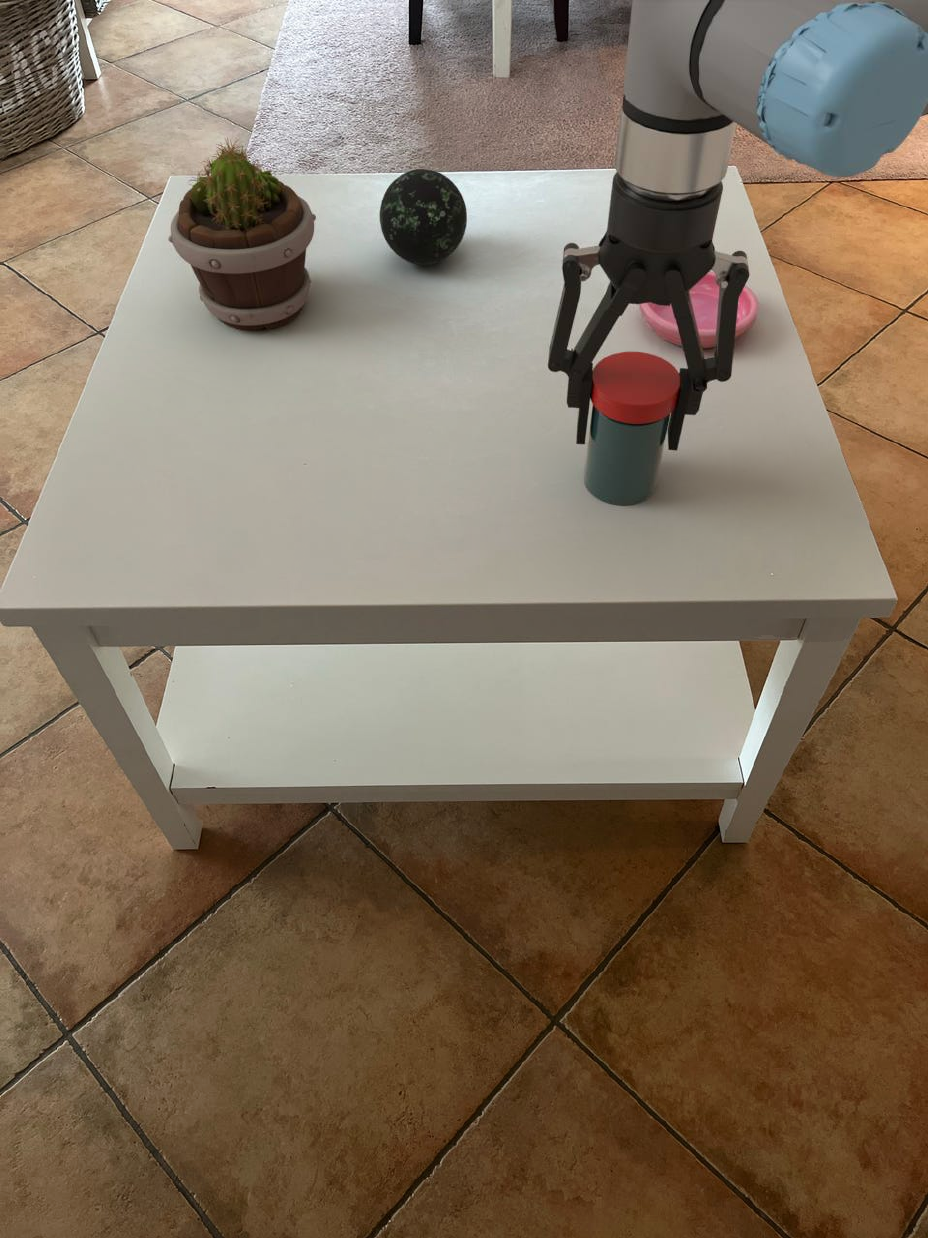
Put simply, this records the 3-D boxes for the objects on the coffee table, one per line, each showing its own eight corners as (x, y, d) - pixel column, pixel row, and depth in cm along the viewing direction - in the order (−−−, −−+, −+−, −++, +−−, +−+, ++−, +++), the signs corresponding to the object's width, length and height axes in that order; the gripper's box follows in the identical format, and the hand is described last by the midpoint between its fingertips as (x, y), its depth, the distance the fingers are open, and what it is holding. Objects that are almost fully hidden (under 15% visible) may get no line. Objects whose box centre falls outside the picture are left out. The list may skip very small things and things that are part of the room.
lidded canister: (670, 479, 84) (691, 384, 76) (625, 516, 81) (641, 421, 73) (614, 446, 87) (628, 351, 79) (569, 480, 84) (578, 385, 76)
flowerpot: (192, 279, 106) (142, 94, 91) (323, 265, 108) (297, 82, 92) (189, 352, 97) (133, 161, 82) (332, 336, 99) (305, 146, 83)
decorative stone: (482, 266, 107) (483, 181, 100) (406, 290, 104) (400, 204, 97) (443, 228, 113) (440, 145, 105) (369, 250, 110) (361, 165, 102)
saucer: (644, 286, 104) (648, 260, 102) (755, 300, 102) (762, 274, 100) (628, 349, 97) (632, 323, 94) (748, 365, 95) (755, 339, 92)
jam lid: (618, 359, 80) (621, 340, 78) (693, 389, 77) (697, 371, 76) (573, 402, 76) (574, 383, 75) (649, 435, 73) (652, 416, 72)
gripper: (813, 155, 64) (740, 416, 82) (525, 143, 65) (515, 402, 83) (827, 208, 59) (746, 473, 77) (517, 195, 61) (508, 457, 79)
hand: (626, 436), depth 80 cm, fingers closed on jam lid, 7 cm apart
